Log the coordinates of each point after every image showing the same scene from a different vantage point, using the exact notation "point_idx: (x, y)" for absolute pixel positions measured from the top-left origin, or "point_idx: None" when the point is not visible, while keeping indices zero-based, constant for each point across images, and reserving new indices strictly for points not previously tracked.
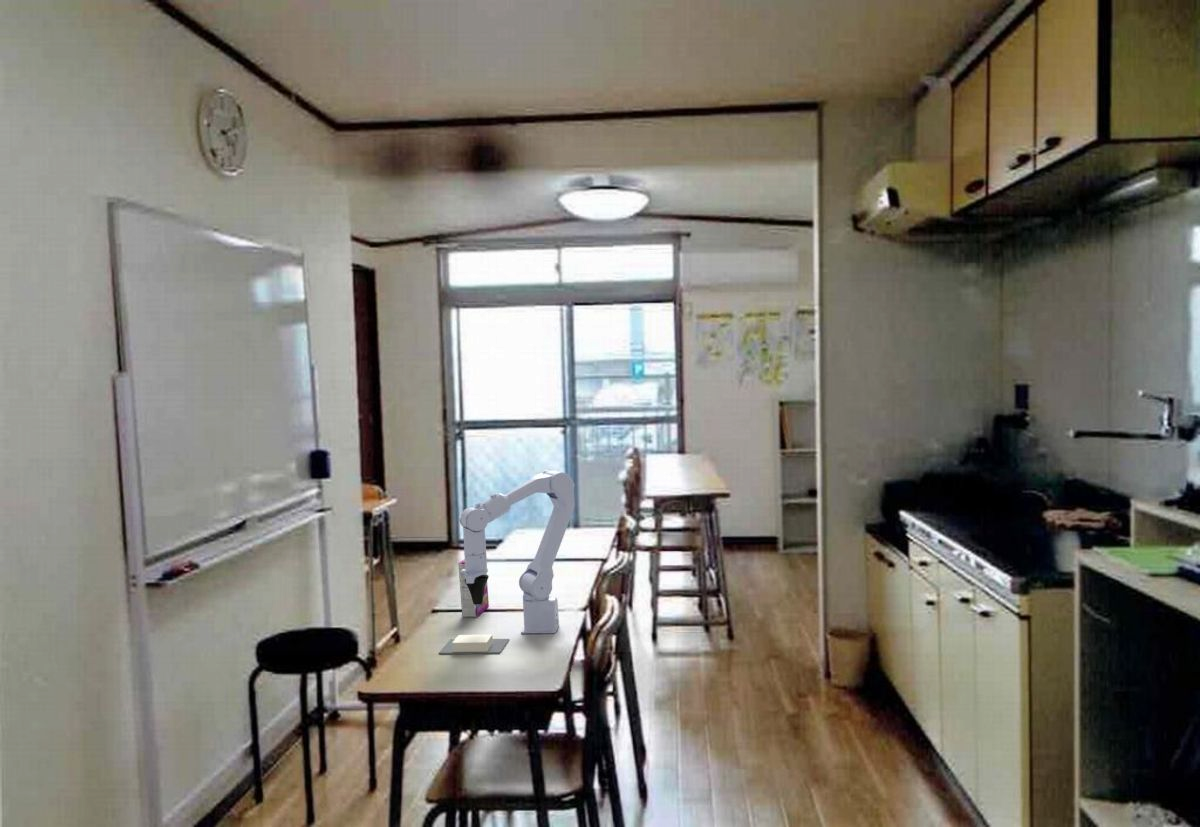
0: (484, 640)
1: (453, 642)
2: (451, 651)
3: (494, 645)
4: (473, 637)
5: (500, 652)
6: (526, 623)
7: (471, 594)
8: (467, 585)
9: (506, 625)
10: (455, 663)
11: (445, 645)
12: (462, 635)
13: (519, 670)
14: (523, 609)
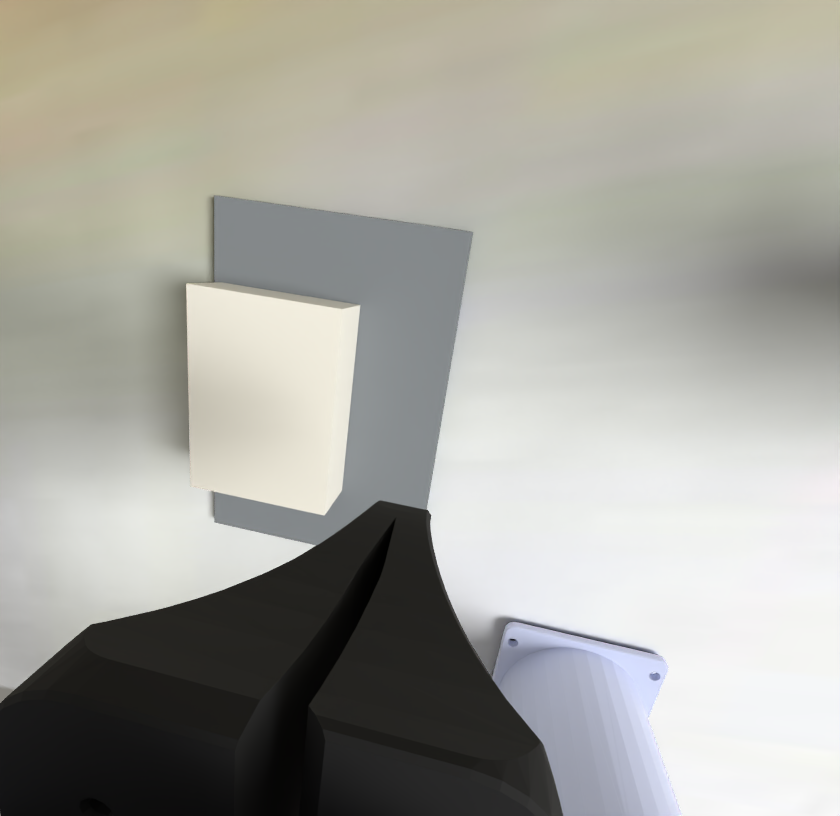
0: (220, 474)
1: (190, 292)
2: (234, 273)
3: None
4: (280, 410)
5: (217, 521)
6: (531, 688)
7: (314, 552)
8: (162, 617)
9: (713, 559)
10: (89, 316)
11: (344, 216)
12: (327, 337)
13: (37, 578)
14: (588, 757)
